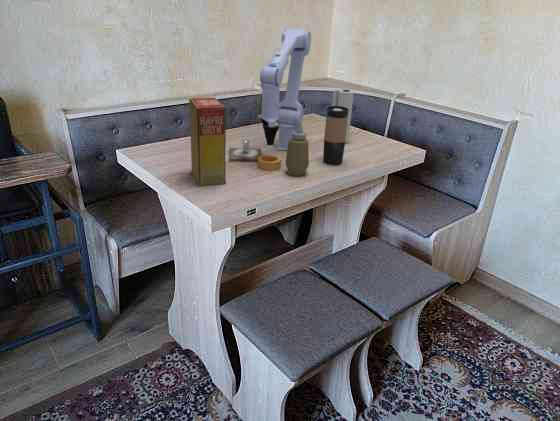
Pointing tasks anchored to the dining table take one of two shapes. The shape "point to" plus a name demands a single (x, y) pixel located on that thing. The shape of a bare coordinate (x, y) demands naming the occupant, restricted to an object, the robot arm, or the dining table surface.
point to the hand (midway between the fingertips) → (269, 141)
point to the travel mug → (335, 135)
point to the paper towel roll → (344, 105)
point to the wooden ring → (269, 162)
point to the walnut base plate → (244, 155)
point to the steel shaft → (245, 147)
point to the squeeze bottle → (297, 152)
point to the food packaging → (208, 140)
